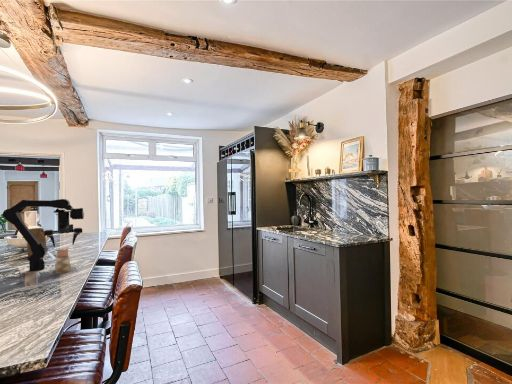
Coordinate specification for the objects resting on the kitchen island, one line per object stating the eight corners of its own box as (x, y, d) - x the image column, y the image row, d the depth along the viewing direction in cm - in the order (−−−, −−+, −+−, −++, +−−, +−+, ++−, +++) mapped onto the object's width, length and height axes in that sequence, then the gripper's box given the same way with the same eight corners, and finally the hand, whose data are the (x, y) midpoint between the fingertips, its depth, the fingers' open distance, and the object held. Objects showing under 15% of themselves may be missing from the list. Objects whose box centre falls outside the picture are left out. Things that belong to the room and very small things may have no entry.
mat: (49, 276, 152) (49, 275, 152) (48, 271, 162) (48, 270, 162) (77, 271, 160) (77, 271, 160) (75, 267, 170) (75, 266, 170)
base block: (55, 273, 156) (55, 265, 156) (55, 270, 161) (55, 263, 161) (70, 270, 160) (70, 263, 160) (69, 268, 166) (69, 261, 166)
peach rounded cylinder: (57, 258, 157) (57, 250, 157) (56, 256, 161) (56, 249, 161) (68, 256, 160) (68, 249, 160) (67, 255, 164) (67, 248, 164)
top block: (56, 265, 157) (56, 258, 157) (56, 263, 161) (56, 256, 161) (69, 263, 160) (69, 256, 160) (68, 261, 165) (68, 254, 165)
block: (26, 257, 197) (26, 229, 197) (28, 255, 204) (27, 228, 204) (46, 255, 203) (45, 227, 203) (46, 253, 210) (46, 226, 210)
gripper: (44, 222, 157) (44, 250, 157) (83, 219, 169) (83, 245, 169) (44, 220, 166) (44, 247, 166) (81, 218, 178) (81, 243, 177)
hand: (63, 245), depth 169 cm, fingers open, 9 cm apart
